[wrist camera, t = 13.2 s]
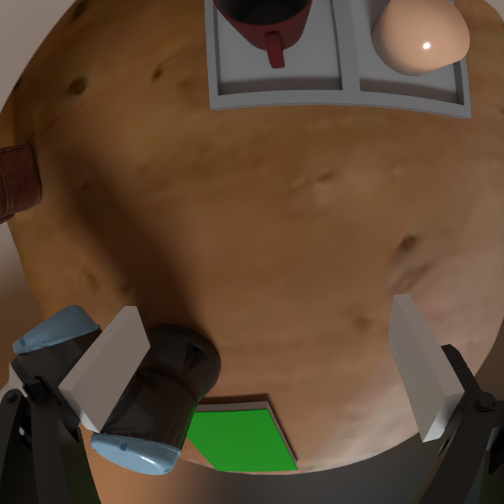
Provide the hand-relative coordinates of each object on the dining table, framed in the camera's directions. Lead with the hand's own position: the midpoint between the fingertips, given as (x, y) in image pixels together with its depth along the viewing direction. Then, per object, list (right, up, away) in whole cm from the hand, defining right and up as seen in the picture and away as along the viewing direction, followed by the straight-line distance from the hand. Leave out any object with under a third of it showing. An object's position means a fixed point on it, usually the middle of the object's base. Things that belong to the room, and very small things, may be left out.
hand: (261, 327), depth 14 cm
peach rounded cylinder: (+18, +29, +11) cm, 36 cm away
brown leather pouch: (-40, +17, +27) cm, 51 cm away
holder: (+10, +29, +13) cm, 34 cm away
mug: (+2, +29, +14) cm, 32 cm away
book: (-4, -39, +45) cm, 59 cm away
